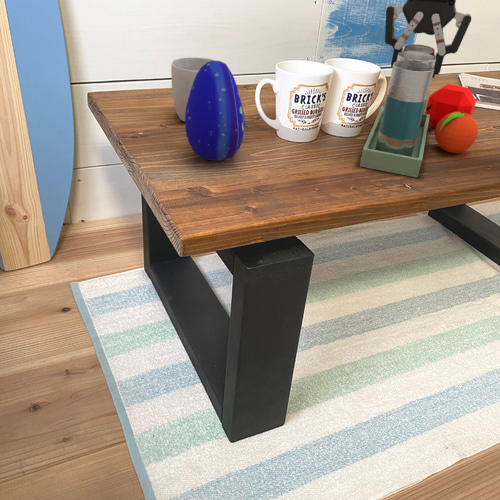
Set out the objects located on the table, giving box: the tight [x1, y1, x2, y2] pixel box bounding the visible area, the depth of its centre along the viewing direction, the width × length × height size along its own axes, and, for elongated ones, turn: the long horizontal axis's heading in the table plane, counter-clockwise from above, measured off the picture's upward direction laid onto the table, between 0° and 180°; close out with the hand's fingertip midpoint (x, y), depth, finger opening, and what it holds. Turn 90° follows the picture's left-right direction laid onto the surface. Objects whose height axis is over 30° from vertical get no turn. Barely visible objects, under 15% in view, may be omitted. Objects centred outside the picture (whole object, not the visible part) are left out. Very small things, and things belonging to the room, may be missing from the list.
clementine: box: [434, 112, 479, 154], centre depth 88 cm, size 8×7×7 cm
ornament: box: [184, 60, 246, 162], centre depth 78 cm, size 11×9×15 cm
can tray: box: [359, 105, 430, 178], centre depth 90 cm, size 9×23×3 cm, turn 161°
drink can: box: [375, 61, 434, 157], centre depth 81 cm, size 6×6×15 cm
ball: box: [424, 83, 477, 129], centre depth 99 cm, size 8×8×8 cm
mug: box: [170, 56, 217, 123], centre depth 95 cm, size 13×9×10 cm
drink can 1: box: [397, 51, 436, 67], centre depth 86 cm, size 6×6×15 cm
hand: (414, 73), depth 90 cm, fingers closed on beverage can, 5 cm apart
